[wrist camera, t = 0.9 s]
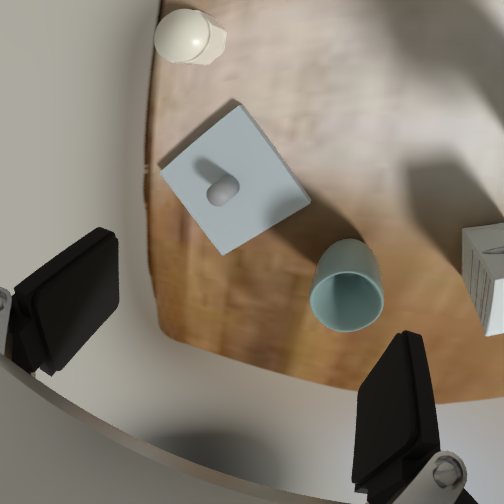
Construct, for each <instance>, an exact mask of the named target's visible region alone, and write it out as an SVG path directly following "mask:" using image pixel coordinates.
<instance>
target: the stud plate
mask: <svg viewBox="0 0 504 504" xmlns="http://www.w3.org/2000/svg"><path fill="white" fill-rule="evenodd" d="M160 174H161V175H162V177H163V178H164V179H165V181H166V182H167V183H168V185H169V186H170V187H171V189H172V190H173V191H174V193H175V194H176V195H177V197H178V198H179V199H180V201H181V202H182V203H183V205H184V206H185V207H186V209H187V210H188V211H189V213H190V214H191V215H192V217H193V218H194V219H195V220H196V222H197V223H198V224H199V226H200V227H201V228H202V230H203V231H204V232H205V234H206V235H207V236H208V238H209V239H210V240H211V241H212V243H213V244H214V245H215V247H216V248H217V249H218V251H219V252H220V253H221V254H222V256H223V255H225V254H226V253H228V252H230V251H231V250H233V249H235V248H236V247H238V246H240V245H241V244H243V243H245V242H246V241H248V240H250V239H251V238H253V237H255V236H257V235H258V234H260V233H262V232H263V231H265V230H267V229H268V228H270V227H272V226H273V225H275V224H277V223H278V222H280V221H282V220H283V219H285V218H287V217H288V216H290V215H292V214H294V213H295V212H297V211H299V210H300V209H302V208H304V207H305V206H307V205H309V204H310V203H311V198H310V197H309V195H308V194H307V192H306V191H305V190H304V188H303V187H302V185H301V184H300V182H299V181H298V179H297V178H296V176H295V175H294V174H293V172H292V171H291V169H290V168H289V167H288V165H287V164H286V162H285V161H284V159H283V158H282V157H281V155H280V154H279V153H278V151H277V150H276V148H275V147H274V146H273V144H272V143H271V142H270V140H269V139H268V137H267V136H266V135H265V133H264V132H263V131H262V129H261V128H260V127H259V125H258V124H257V123H256V121H255V120H254V119H253V117H252V116H251V115H250V113H249V112H248V111H247V110H246V108H245V107H244V106H243V105H239V106H237V107H236V108H235V109H233V110H232V111H231V112H230V113H228V114H227V115H226V116H225V117H223V118H222V119H221V120H220V121H218V122H217V123H216V124H215V125H214V126H212V127H211V128H210V129H209V130H208V131H206V132H205V133H204V134H203V135H202V136H200V137H199V138H198V139H197V140H196V141H195V142H193V143H192V144H191V145H190V146H189V147H188V148H186V149H185V150H184V151H183V152H182V153H181V154H180V155H178V156H177V157H176V158H175V159H174V160H173V161H172V162H171V163H170V164H168V165H167V166H166V167H165V168H164V169H163V170H162V171H161V172H160Z"/></svg>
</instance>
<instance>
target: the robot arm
mask: <svg viewBox="0 0 504 504" xmlns="http://www.w3.org/2000/svg"><path fill="white" fill-rule="evenodd" d="M14 290H15V294H14V295H13V296H11V294H10V292H9V291H8V290H7V289H4V288H2V287H0V504H349V503H342V502H336V501H331V500H325V499H320V498H315V497H310V496H305V495H300V494H295V493H291V492H287V491H282V490H278V489H274V488H270V487H267V486H263V485H259V484H255V483H252V482H249V481H245V480H242V479H239V478H236V477H233V476H229V475H226V474H223V473H220V472H218V471H215V470H212V469H209V468H206V467H203V466H200V465H198V464H195V463H193V462H190V461H188V460H185V459H183V458H180V457H177V456H175V455H173V454H171V453H168V452H166V451H163V450H161V449H159V448H157V447H154V446H152V445H150V444H148V443H146V442H144V441H142V440H140V439H138V438H135V437H133V436H131V435H129V434H127V433H125V432H123V431H122V430H119V429H118V428H116V427H114V426H112V425H110V424H108V423H106V422H105V421H103V420H101V419H99V418H97V417H95V416H94V415H92V414H90V413H89V412H87V411H85V410H84V409H82V408H80V407H78V406H77V405H75V404H74V403H72V402H70V401H69V400H67V399H66V398H64V397H62V396H61V395H59V394H58V393H56V392H55V391H53V390H52V389H50V388H49V387H47V386H46V385H44V384H43V383H42V382H40V381H38V380H37V379H36V378H35V371H36V370H37V369H38V368H39V367H40V369H41V370H42V371H44V372H46V373H47V374H48V375H50V376H52V375H53V374H54V373H55V372H56V371H60V370H62V369H63V368H64V367H65V365H66V364H67V363H68V362H69V361H70V360H71V359H72V357H73V356H74V355H75V354H76V353H77V352H78V351H79V349H80V348H81V347H82V346H83V345H84V344H85V343H86V342H87V341H88V339H89V338H90V337H91V336H92V335H93V334H94V333H95V332H96V331H97V329H98V328H99V327H100V326H101V325H102V324H103V323H104V322H105V321H106V320H107V319H108V317H109V316H110V315H111V314H112V313H113V312H114V311H115V310H116V308H117V307H118V304H119V272H118V239H117V238H116V237H115V233H114V232H112V231H109V230H107V229H104V228H101V227H98V228H96V229H94V230H93V231H91V232H90V233H88V234H87V235H85V236H84V237H82V238H81V239H80V240H78V241H77V242H75V243H74V244H72V245H71V246H69V247H68V248H67V249H65V250H64V251H62V252H61V253H59V254H58V255H57V256H55V257H54V258H53V259H51V260H50V261H49V262H47V263H46V264H44V265H43V266H42V267H40V268H39V269H38V270H36V271H35V272H34V273H32V274H31V275H30V276H28V277H27V278H26V279H24V280H23V281H22V282H21V283H19V284H18V285H17V286H15V287H14ZM356 418H357V419H356V433H355V446H354V458H353V469H352V483H355V492H357V493H365V494H367V501H368V502H367V503H366V504H478V503H477V502H476V501H475V500H474V498H473V497H472V496H471V495H470V494H469V493H468V492H467V491H466V490H465V489H464V486H465V484H466V481H467V471H466V467H465V465H464V462H463V461H462V460H461V458H460V457H459V456H457V455H456V454H455V453H453V452H450V451H441V450H440V439H439V430H438V422H437V415H436V408H435V401H434V395H433V389H432V383H431V378H430V372H429V367H428V362H427V357H426V352H425V348H424V343H423V339H422V336H421V335H420V334H416V333H413V332H410V331H406V330H405V331H403V332H402V333H401V334H400V333H397V334H396V335H395V337H394V338H393V340H392V341H391V343H390V344H389V346H388V347H387V349H386V350H385V352H384V353H383V355H382V356H381V358H380V359H379V361H378V362H377V364H376V365H375V366H374V368H373V369H372V371H371V372H370V373H369V375H368V376H367V378H366V379H365V380H364V382H363V383H362V384H361V386H360V388H359V391H358V396H357V417H356Z"/></svg>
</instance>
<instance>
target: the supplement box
mask: <svg viewBox="0 0 504 504" xmlns="http://www.w3.org/2000/svg"><path fill="white" fill-rule="evenodd" d="M462 278H463V281H464V283H465V285H466V288H467V290H468V292H469V295H470V297H471V299H472V302H473V304H474V307H475V309H476V312H477V314H478V317H479V319H480V322H481V324H482V327H483V330H484V334H485V336H492V335H497V334H502V333H504V222H503V223H498V224H492V225H485V226H477V227H469V228H462Z"/></svg>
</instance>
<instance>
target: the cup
mask: <svg viewBox="0 0 504 504" xmlns="http://www.w3.org/2000/svg"><path fill="white" fill-rule="evenodd" d="M309 303H310V307H311V310H312V312H313V314H314V315H315V317H316V318H317V319H318V320H319V321H320V322H321V323H322V324H323V325H325V326H326V327H328V328H330V329H332V330H335V331H339V332H352V331H356V330H360V329H362V328H364V327H366V326H368V325H370V324H371V323H372V322H374V321H375V320H376V319H377V318H378V316H379V315H380V314H381V311H382V309H383V305H384V291H383V282H382V275H381V269H380V266H379V263H378V260H377V258H376V256H375V255H374V253H373V251H372V250H371V249H370V248H369V247H368V246H367V245H366V244H365V243H363V242H362V241H360V240H357V239H353V238H347V239H342V240H339V241H337V242H335V243H333V244H332V245H331V246H329V247H328V248H327V249H326V250H325V252H324V253H323V254H322V256H321V258H320V259H319V261H318V264H317V266H316V269H315V273H314V277H313V280H312V284H311V288H310V293H309Z"/></svg>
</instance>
